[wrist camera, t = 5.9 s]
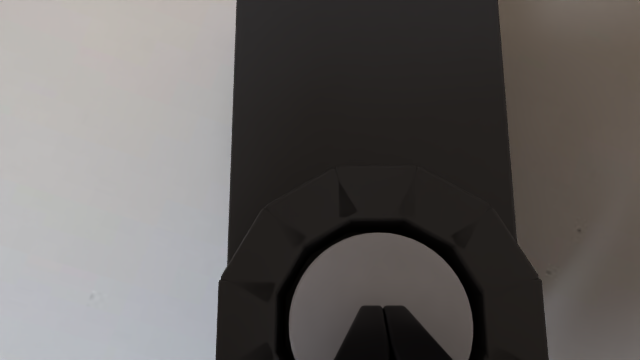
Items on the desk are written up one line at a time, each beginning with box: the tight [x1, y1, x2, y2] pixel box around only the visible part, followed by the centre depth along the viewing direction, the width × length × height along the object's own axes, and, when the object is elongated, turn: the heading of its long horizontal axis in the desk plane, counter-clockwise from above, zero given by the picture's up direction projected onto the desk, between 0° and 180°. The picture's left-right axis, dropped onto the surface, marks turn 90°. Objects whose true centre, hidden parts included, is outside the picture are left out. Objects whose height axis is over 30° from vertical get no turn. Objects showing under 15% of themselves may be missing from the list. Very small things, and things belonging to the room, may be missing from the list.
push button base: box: [216, 0, 549, 360], centre depth 15 cm, size 14×7×7 cm, turn 0°
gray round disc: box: [289, 232, 473, 360], centre depth 11 cm, size 4×4×2 cm
